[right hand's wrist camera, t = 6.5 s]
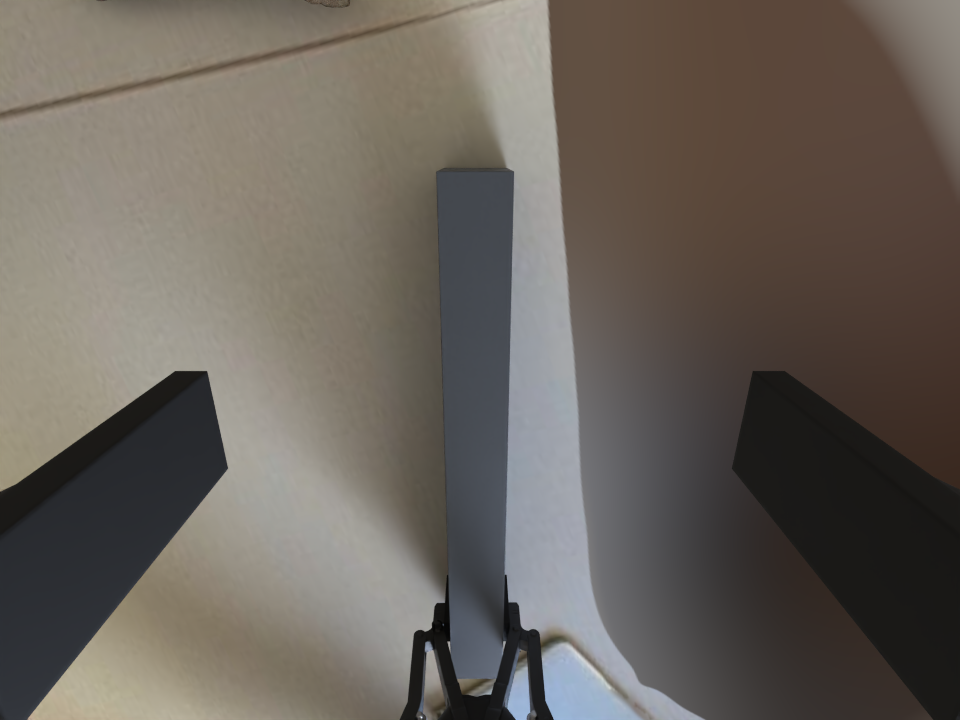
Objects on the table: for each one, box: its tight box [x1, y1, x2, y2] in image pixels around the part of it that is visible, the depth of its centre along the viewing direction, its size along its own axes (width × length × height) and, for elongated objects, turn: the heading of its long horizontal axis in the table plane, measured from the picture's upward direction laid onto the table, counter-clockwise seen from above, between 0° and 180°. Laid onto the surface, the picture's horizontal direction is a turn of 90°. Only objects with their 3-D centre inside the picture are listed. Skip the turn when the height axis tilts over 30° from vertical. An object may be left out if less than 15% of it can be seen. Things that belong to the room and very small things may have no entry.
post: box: [436, 168, 514, 679], centre depth 49 cm, size 50×5×8 cm, turn 0°
